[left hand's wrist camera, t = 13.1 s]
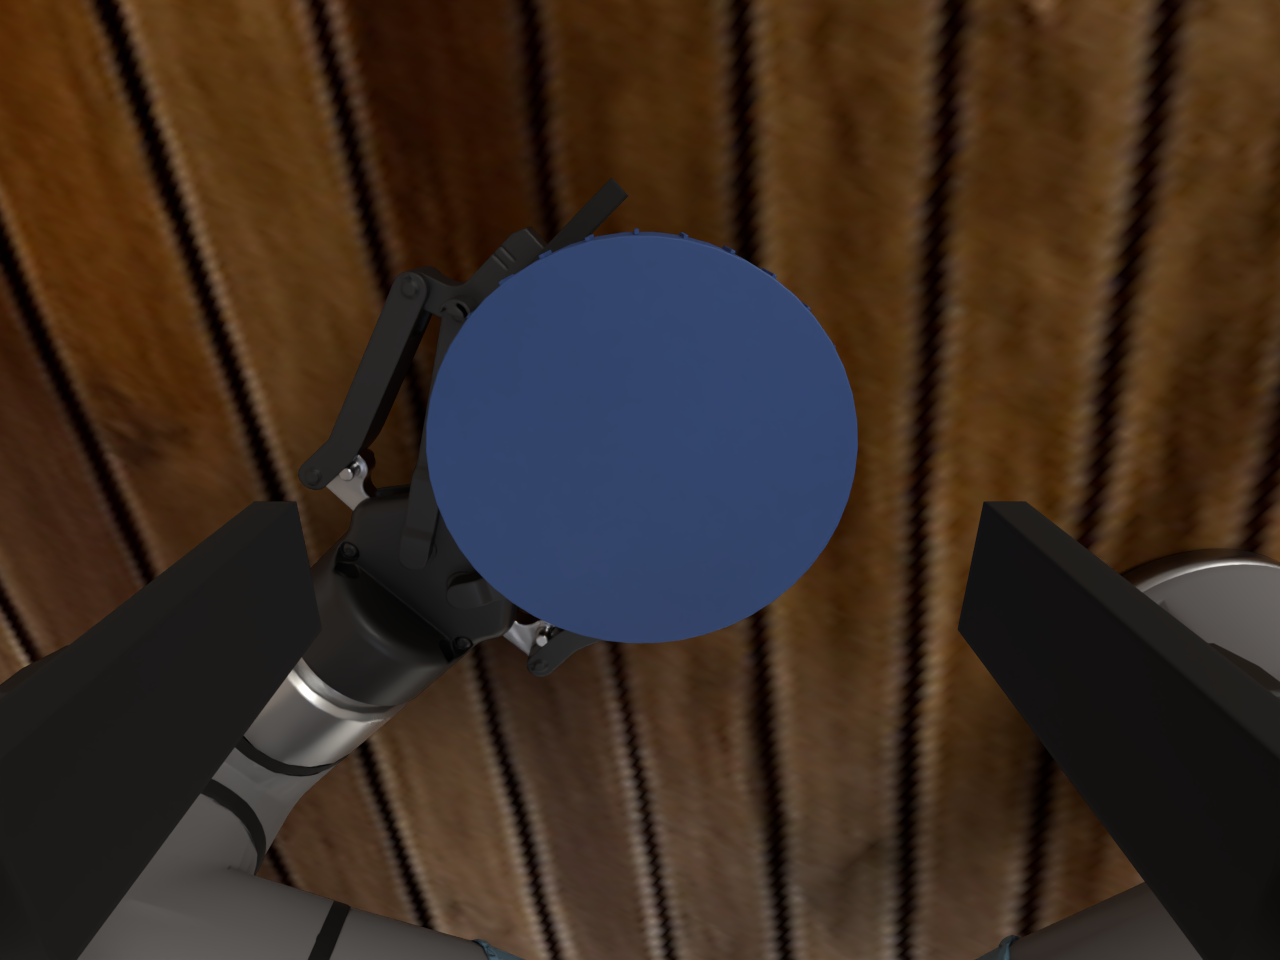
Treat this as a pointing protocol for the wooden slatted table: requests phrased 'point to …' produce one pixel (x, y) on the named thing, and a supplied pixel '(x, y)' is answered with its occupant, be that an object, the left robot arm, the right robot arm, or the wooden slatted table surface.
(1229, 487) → the wooden slatted table surface
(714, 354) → the lid
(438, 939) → the right robot arm
